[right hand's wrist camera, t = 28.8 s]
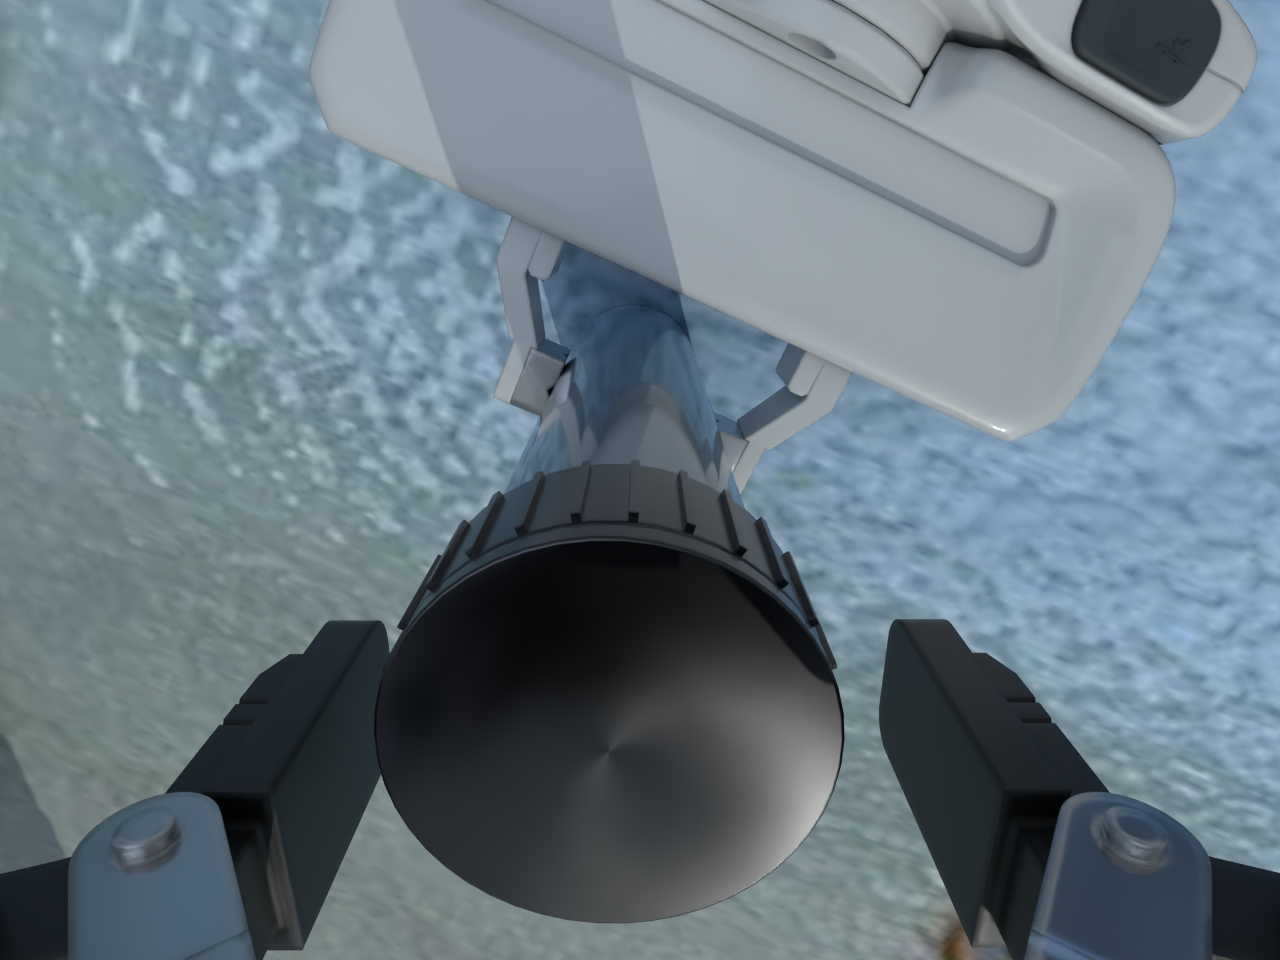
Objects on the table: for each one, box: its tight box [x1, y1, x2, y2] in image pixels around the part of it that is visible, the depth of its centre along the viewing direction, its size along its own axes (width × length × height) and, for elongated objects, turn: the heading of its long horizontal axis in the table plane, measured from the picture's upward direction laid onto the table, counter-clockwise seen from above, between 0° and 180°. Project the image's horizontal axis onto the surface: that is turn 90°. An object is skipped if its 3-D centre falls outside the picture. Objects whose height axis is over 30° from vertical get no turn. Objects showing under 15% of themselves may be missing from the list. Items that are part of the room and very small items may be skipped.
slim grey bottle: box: [504, 305, 745, 509], centre depth 19 cm, size 4×4×19 cm
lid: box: [374, 460, 844, 923], centre depth 10 cm, size 5×5×2 cm
